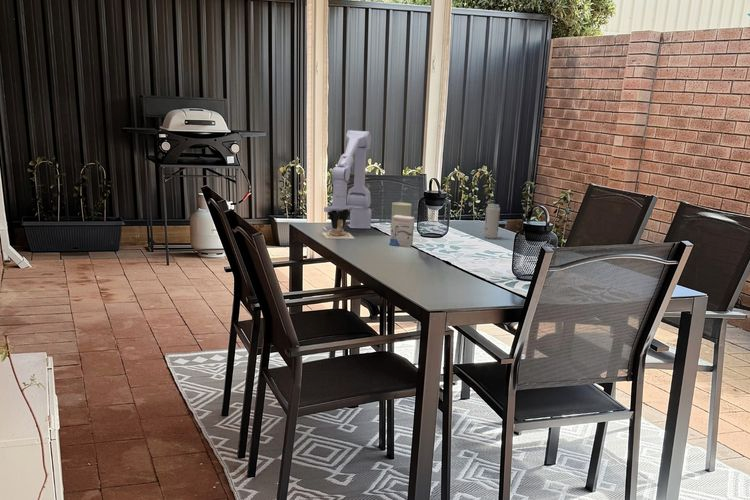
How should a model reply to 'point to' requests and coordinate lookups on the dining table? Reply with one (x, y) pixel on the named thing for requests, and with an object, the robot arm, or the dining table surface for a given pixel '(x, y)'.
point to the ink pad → (328, 229)
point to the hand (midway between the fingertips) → (338, 228)
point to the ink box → (402, 231)
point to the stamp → (338, 229)
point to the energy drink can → (492, 221)
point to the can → (401, 209)
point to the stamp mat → (327, 236)
